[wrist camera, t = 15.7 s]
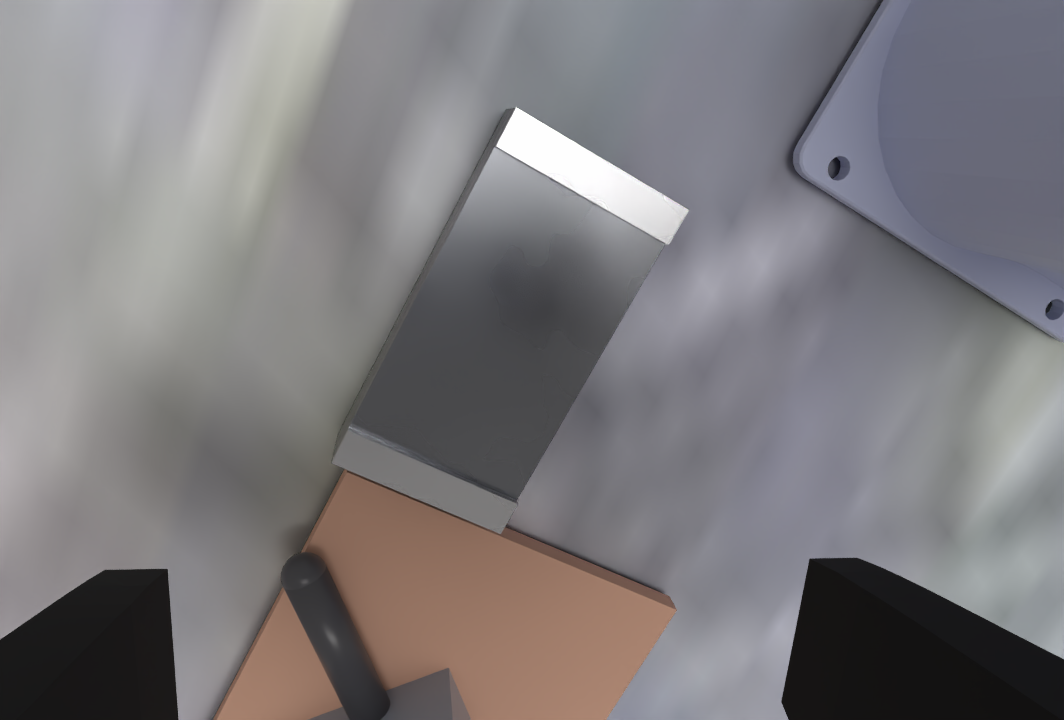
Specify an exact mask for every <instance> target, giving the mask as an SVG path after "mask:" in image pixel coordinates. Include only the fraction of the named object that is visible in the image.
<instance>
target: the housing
mask: <svg viewBox="0 0 1064 720" xmlns="http://www.w3.org/2000/svg"><path fill="white" fill-rule="evenodd" d="M688 211H689V210H688V209H686V208H685V207H683V206H681V205H680V204H678V203H676V202H675V201H673V200H671V199H670V198H668V197H666V196H665V195H663V194H661V193H659V192H658V191H656V190H654V189H653V188H651V187H649V186H648V185H646V184H644V183H643V182H641V181H639V180H638V179H636V178H634V177H633V176H631V175H629V174H627V173H626V172H624V171H622V170H621V169H619V168H617V167H616V166H614V165H612V164H611V163H609V162H607V161H606V160H604V159H602V158H600V157H599V156H597V155H595V154H594V153H592V152H590V151H589V150H587V149H585V148H584V147H582V146H580V145H579V144H577V143H575V142H574V141H572V140H570V139H568V138H567V137H565V136H563V135H562V134H560V133H558V132H557V131H555V130H553V129H552V128H550V127H548V126H547V125H545V124H543V123H541V122H540V121H538V120H536V119H535V118H533V117H531V116H530V115H528V114H526V113H525V112H523V111H521V110H520V109H518V108H511V109H506V110H505V112H504V114H503V116H502V118H501V120H500V122H499V124H498V126H497V128H496V130H495V132H494V134H493V135H492V137H491V139H490V141H489V143H488V145H487V147H486V149H485V151H484V153H483V155H482V157H481V159H480V161H479V163H478V164H477V166H476V168H475V170H474V172H473V174H472V176H471V178H470V180H469V182H468V184H467V186H466V188H465V190H464V191H463V193H462V195H461V197H460V199H459V201H458V203H457V205H456V207H455V209H454V211H453V213H452V215H451V217H450V218H449V220H448V222H447V224H446V226H445V228H444V230H443V232H442V234H441V236H440V238H439V240H438V242H437V244H436V246H435V247H434V249H433V251H432V253H431V255H430V257H429V259H428V261H427V263H426V265H425V267H424V269H423V271H422V273H421V274H420V276H419V278H418V280H417V282H416V284H415V286H414V288H413V290H412V292H411V294H410V296H409V298H408V300H407V302H406V303H405V305H404V307H403V309H402V311H401V313H400V315H399V317H398V319H397V321H396V323H395V325H394V327H393V329H392V330H391V332H390V334H389V336H388V338H387V340H386V342H385V344H384V346H383V348H382V350H381V352H380V354H379V356H378V358H377V359H376V361H375V363H374V365H373V367H372V369H371V371H370V373H369V375H368V377H367V379H366V381H365V383H364V385H363V386H362V388H361V390H360V392H359V394H358V396H357V398H356V400H355V402H354V404H353V406H352V408H351V410H350V412H349V414H348V415H347V417H346V419H345V421H344V423H343V425H342V427H341V429H340V431H339V433H338V436H337V440H336V445H335V449H334V453H333V458H332V462H331V463H332V464H334V465H337V466H339V467H341V468H344V469H346V470H349V471H351V472H353V473H356V474H358V475H361V476H363V477H365V478H368V479H370V480H372V481H375V482H377V483H380V484H382V485H384V486H387V487H389V488H392V489H394V490H396V491H399V492H401V493H404V494H406V495H408V496H411V497H413V498H415V499H418V500H420V501H423V502H425V503H427V504H430V505H432V506H435V507H437V508H439V509H442V510H444V511H446V512H449V513H451V514H454V515H456V516H458V517H461V518H463V519H466V520H468V521H470V522H473V523H475V524H478V525H480V526H482V527H485V528H487V529H489V530H492V531H494V532H497V533H499V534H501V533H502V531H503V529H504V528H505V526H506V524H507V522H508V521H509V519H510V517H511V516H512V514H513V512H514V510H515V509H516V507H517V505H518V502H517V499H518V497H519V495H520V494H521V492H522V490H523V489H524V487H525V485H526V483H527V482H528V480H529V478H530V477H531V475H532V473H533V471H534V470H535V468H536V466H537V464H538V463H539V461H540V459H541V458H542V456H543V454H544V452H545V451H546V449H547V447H548V445H549V444H550V442H551V440H552V439H553V437H554V435H555V433H556V432H557V430H558V428H559V427H560V425H561V423H562V421H563V420H564V418H565V416H566V414H567V413H568V411H569V409H570V408H571V406H572V404H573V402H574V401H575V399H576V397H577V395H578V394H579V392H580V390H581V389H582V387H583V385H584V383H585V382H586V380H587V378H588V376H589V375H590V373H591V371H592V370H593V368H594V366H595V364H596V363H597V361H598V359H599V358H600V356H601V354H602V352H603V351H604V349H605V347H606V345H607V344H608V342H609V340H610V339H611V337H612V335H613V333H614V332H615V330H616V328H617V326H618V325H619V323H620V321H621V320H622V318H623V316H624V314H625V313H626V311H627V309H628V307H629V306H630V304H631V302H632V301H633V299H634V297H635V295H636V294H637V292H638V290H639V289H640V287H641V285H642V283H643V282H644V280H645V278H646V276H647V275H648V273H649V271H650V270H651V268H652V266H653V264H654V263H655V261H656V259H657V257H658V256H659V254H660V252H661V251H662V249H663V247H664V245H665V244H667V245H669V244H670V242H671V240H672V238H673V237H674V235H675V233H676V232H677V230H678V228H679V226H680V225H681V223H682V221H683V219H684V218H685V216H686V214H687V213H688Z"/></svg>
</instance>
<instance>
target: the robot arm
mask: <svg viewBox="0 0 1064 720" xmlns="http://www.w3.org/2000/svg"><path fill="white" fill-rule="evenodd" d="M835 157H837V158H838V159H839V161H840V165H841V168H840V171H839V174H838V175H837V176H836V177H835V178H831V177H830V176H829V175H828V166H829V163H830V162H831V160H832V159H833V158H835ZM793 164H794V167H795V170H796V172H797V173H798V174H799V175H800V176H801V177H803V178H804V179H806V180H808V181H809V182H811V183H812V184H814V185H815V186H817V187H819V188H820V189H822V190H823V191H825V192H826V193H828V194H829V195H831V196H833V197H834V198H836V199H837V200H839V201H840V202H842V203H844V204H845V205H847V206H848V207H850V208H851V209H853V210H855V211H856V212H858V213H859V214H861V215H862V216H864V217H866V218H867V219H869V220H870V221H872V222H873V223H875V224H876V225H878V226H880V227H881V228H883V229H884V230H886V231H887V232H889V233H891V234H892V235H894V236H895V237H897V238H898V239H900V240H902V241H903V242H905V243H906V244H908V245H909V246H911V247H912V248H914V249H916V250H917V251H919V252H920V253H922V254H923V255H925V256H927V257H928V258H930V259H931V260H933V261H934V262H936V263H938V264H939V265H941V266H942V267H944V268H945V269H947V270H949V271H950V272H952V273H953V274H955V275H956V276H958V277H959V278H961V279H963V280H964V281H966V282H967V283H969V284H970V285H972V286H974V287H975V288H977V289H978V290H980V291H981V292H983V293H985V294H986V295H988V296H989V297H991V298H992V299H994V300H995V301H997V302H999V303H1000V304H1002V305H1003V306H1005V307H1006V308H1008V309H1010V310H1011V311H1013V312H1014V313H1016V314H1017V315H1019V316H1021V317H1022V318H1024V319H1025V320H1027V321H1028V322H1030V323H1032V324H1033V325H1035V326H1036V327H1038V328H1039V329H1041V330H1042V331H1044V332H1046V333H1047V334H1049V335H1050V336H1052V337H1053V338H1055V339H1057V340H1058V341H1060V342H1063V343H1064V0H883V2H882V3H881V5H880V7H879V8H878V10H877V12H876V13H875V15H874V17H873V18H872V20H871V22H870V23H869V25H868V27H867V28H866V30H865V32H864V33H863V35H862V37H861V38H860V40H859V42H858V43H857V45H856V47H855V48H854V50H853V52H852V53H851V55H850V57H849V58H848V60H847V62H846V63H845V65H844V67H843V68H842V70H841V72H840V73H839V75H838V77H837V78H836V80H835V82H834V83H833V85H832V87H831V88H830V90H829V92H828V93H827V95H826V97H825V98H824V100H823V102H822V104H821V105H820V107H819V109H818V110H817V112H816V114H815V115H814V117H813V119H812V120H811V122H810V124H809V125H808V127H807V129H806V130H805V132H804V134H803V135H802V137H801V139H800V140H799V142H798V144H797V145H796V148H795V150H794V153H793ZM1051 301H1052V307H1051V309H1050V311H1049V312H1048V313H1047V314H1046V315H1045V309H1046V307H1047V305H1048V304H1049V303H1050V302H1051ZM782 704H783V707H784V709H785V712H786V714H787V717H788V719H789V720H1064V659H1062V658H1060V657H1058V656H1056V655H1054V654H1052V653H1050V652H1048V651H1046V650H1044V649H1042V648H1040V647H1038V646H1036V645H1034V644H1032V643H1031V642H1029V641H1027V640H1025V639H1023V638H1021V637H1019V636H1017V635H1015V634H1013V633H1011V632H1009V631H1007V630H1005V629H1003V628H1001V627H999V626H997V625H996V624H994V623H992V622H990V621H988V620H986V619H984V618H982V617H980V616H978V615H976V614H974V613H972V612H970V611H968V610H966V609H965V608H963V607H961V606H959V605H957V604H955V603H953V602H951V601H949V600H947V599H945V598H943V597H941V596H939V595H937V594H935V593H933V592H931V591H929V590H927V589H925V588H923V587H921V586H919V585H917V584H915V583H913V582H911V581H909V580H907V579H905V578H903V577H901V576H899V575H896V574H894V573H892V572H890V571H888V570H886V569H883V568H881V567H879V566H876V565H874V564H871V563H869V562H866V561H864V560H861V559H859V558H819V559H810V560H809V565H808V570H807V575H806V580H805V585H804V590H803V595H802V600H801V605H800V610H799V615H798V620H797V626H796V631H795V636H794V641H793V646H792V651H791V656H790V661H789V666H788V671H787V676H786V681H785V686H784V692H783V697H782ZM0 720H178V708H177V694H176V680H175V666H174V652H173V639H172V625H171V611H170V597H169V583H168V569H134V570H104V571H102V572H101V573H99V574H97V575H96V576H94V577H92V578H91V579H89V580H87V581H86V582H84V583H83V584H81V585H80V586H78V587H77V588H75V589H74V590H72V591H71V592H69V593H68V594H66V595H65V596H63V597H62V598H60V599H59V600H57V601H56V602H54V603H53V604H51V605H50V606H48V607H47V608H46V609H44V610H43V611H41V612H40V613H38V614H37V615H35V616H34V617H33V618H31V619H30V620H28V621H27V622H25V623H24V624H22V625H21V626H19V627H18V628H17V629H15V630H14V631H12V632H11V633H9V634H8V635H6V636H5V637H4V638H2V639H1V640H0Z"/></svg>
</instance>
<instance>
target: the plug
mask: <svg viewBox="0 0 1064 720" xmlns="http://www.w3.org/2000/svg"><path fill="white" fill-rule="evenodd" d="M281 582H282V585H283V588H284V590H285V592H286V594H287V596H288V598H289V600H290V602H291V604H292V606H293V608H294V610H295V612H296V614H297V616H298V618H299V620H300V622H301V624H302V626H303V628H304V630H305V632H306V634H307V636H308V638H309V640H310V642H311V644H312V646H313V648H314V650H315V652H316V654H317V656H318V658H319V660H320V662H321V664H322V666H323V668H324V670H325V672H326V674H327V676H328V678H329V680H330V682H331V684H332V686H333V688H334V690H335V692H336V694H337V696H338V698H339V700H340V702H341V704H342V706H343V707H341V708H338V709H335V710H332V711H330V712H327V713H324V714H322V715H319V716H316V717H313V718H311V719H308V720H471V718H470V716H469V713H468V711H467V709H466V706H465V704H464V702H463V699H462V697H461V695H460V693H459V690H458V688H457V686H456V683H455V681H454V679H453V676H452V674H451V672H450V669H449V668H446V669H444V670H441V671H438V672H435V673H433V674H430V675H427V676H425V677H422V678H419V679H416V680H414V681H411V682H408V683H406V684H403V685H400V686H397V687H395V688H392V689H389V690H387V691H385V689H384V687H383V685H382V682H381V680H380V678H379V676H378V674H377V672H376V670H375V668H374V665H373V663H372V661H371V659H370V657H369V655H368V653H367V651H366V649H365V646H364V644H363V642H362V640H361V638H360V636H359V634H358V632H357V629H356V627H355V625H354V623H353V621H352V619H351V617H350V615H349V612H348V610H347V608H346V606H345V604H344V602H343V600H342V598H341V595H340V593H339V591H338V589H337V587H336V585H335V583H334V581H333V578H332V576H331V574H330V572H329V570H328V568H327V566H326V564H325V562H324V560H323V559H322V558H321V557H320V556H318V555H316V554H314V553H311V552H302V553H298V554H295V555H294V556H292V557H291V558H290V559H288V560H287V562H286V563H285V565H284V566H283V569H282V572H281Z"/></svg>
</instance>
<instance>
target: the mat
mask: <svg viewBox="0 0 1064 720" xmlns="http://www.w3.org/2000/svg"><path fill="white" fill-rule="evenodd" d="M302 552H311V553H314V554H316V555H318V556H320V557H321V558H322V559H323V560H324V562H325V564H326V566H327V568H328V570H329V572H330V574H331V576H332V578H333V581H334V583H335V585H336V587H337V589H338V591H339V593H340V595H341V598H342V600H343V602H344V604H345V606H346V608H347V610H348V612H349V615H350V617H351V619H352V621H353V623H354V625H355V627H356V629H357V632H358V634H359V636H360V638H361V640H362V642H363V644H364V646H365V649H366V651H367V653H368V655H369V657H370V659H371V661H372V663H373V665H374V668H375V670H376V672H377V674H378V676H379V678H380V680H381V682H382V685H383V687H384V689H385V691H387V690H389V689H392V688H395V687H397V686H400V685H403V684H406V683H408V682H411V681H414V680H416V679H419V678H422V677H425V676H427V675H430V674H433V673H435V672H438V671H441V670H444V669H446V668H449V669H450V672H451V674H452V676H453V679H454V681H455V683H456V686H457V688H458V690H459V693H460V695H461V697H462V699H463V702H464V704H465V706H466V709H467V711H468V713H469V716H470V718H471V720H606V719H607V717H608V716H609V714H610V713H611V711H612V710H613V708H614V706H615V705H616V703H617V702H618V700H619V699H620V697H621V696H622V694H623V693H624V691H625V689H626V688H627V686H628V685H629V683H630V682H631V680H632V679H633V677H634V676H635V674H636V672H637V671H638V669H639V668H640V666H641V665H642V663H643V662H644V660H645V659H646V657H647V655H648V654H649V652H650V651H651V649H652V648H653V646H654V645H655V643H656V642H657V640H658V638H659V637H660V635H661V634H662V632H663V631H664V629H665V628H666V626H667V625H668V623H669V621H670V620H671V618H672V617H673V615H674V614H675V612H676V611H677V609H676V608H675V606H674V604H673V602H672V600H671V599H670V597H669V596H667V595H665V594H663V593H660V592H658V591H655V590H653V589H651V588H648V587H646V586H644V585H641V584H639V583H637V582H634V581H632V580H629V579H627V578H625V577H622V576H620V575H618V574H615V573H613V572H611V571H608V570H606V569H603V568H601V567H599V566H596V565H594V564H592V563H589V562H587V561H584V560H582V559H580V558H577V557H575V556H573V555H570V554H568V553H566V552H563V551H561V550H558V549H556V548H554V547H551V546H549V545H547V544H544V543H542V542H539V541H537V540H535V539H532V538H530V537H528V536H525V535H523V534H521V533H518V532H516V531H513V530H511V529H509V528H506V527H505V528H504V529H503V531H502V533H501V534H499V533H497V532H494V531H492V530H489V529H487V528H485V527H482V526H480V525H478V524H475V523H473V522H470V521H468V520H466V519H463V518H461V517H458V516H456V515H454V514H451V513H449V512H446V511H444V510H442V509H439V508H437V507H435V506H432V505H430V504H427V503H425V502H423V501H420V500H418V499H415V498H413V497H411V496H408V495H406V494H404V493H401V492H399V491H396V490H394V489H392V488H389V487H387V486H384V485H382V484H380V483H377V482H375V481H372V480H370V479H368V478H365V477H363V476H361V475H358V474H356V473H353V472H351V471H349V470H346V469H344V471H343V473H342V475H341V477H340V479H339V481H338V482H337V484H336V486H335V488H334V490H333V492H332V494H331V496H330V498H329V500H328V502H327V503H326V505H325V507H324V509H323V511H322V513H321V515H320V517H319V519H318V521H317V522H316V524H315V526H314V528H313V530H312V532H311V534H310V536H309V538H308V540H307V542H306V543H305V545H304V547H303V549H302V551H301V553H302ZM341 707H343V706H342V704H341V702H340V700H339V698H338V696H337V694H336V692H335V690H334V688H333V686H332V684H331V682H330V680H329V678H328V676H327V674H326V672H325V670H324V668H323V666H322V664H321V662H320V660H319V658H318V656H317V654H316V652H315V650H314V648H313V646H312V644H311V642H310V640H309V638H308V636H307V634H306V632H305V630H304V628H303V626H302V624H301V622H300V620H299V618H298V616H297V614H296V612H295V610H294V608H293V606H292V604H291V602H290V600H289V598H288V596H287V594H286V592H285V590H284V588H283V587H282V589H281V591H280V593H279V595H278V597H277V599H276V601H275V602H274V604H273V606H272V608H271V610H270V612H269V614H268V616H267V618H266V620H265V621H264V623H263V625H262V627H261V629H260V631H259V633H258V635H257V637H256V639H255V641H254V642H253V644H252V646H251V648H250V650H249V652H248V654H247V656H246V658H245V660H244V661H243V663H242V665H241V667H240V669H239V671H238V673H237V675H236V677H235V679H234V681H233V682H232V684H231V686H230V688H229V690H228V692H227V694H226V696H225V698H224V700H223V701H222V703H221V705H220V707H219V709H218V711H217V713H216V715H215V717H214V719H213V720H308V719H311V718H313V717H316V716H319V715H322V714H324V713H327V712H330V711H332V710H335V709H338V708H341Z"/></svg>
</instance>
